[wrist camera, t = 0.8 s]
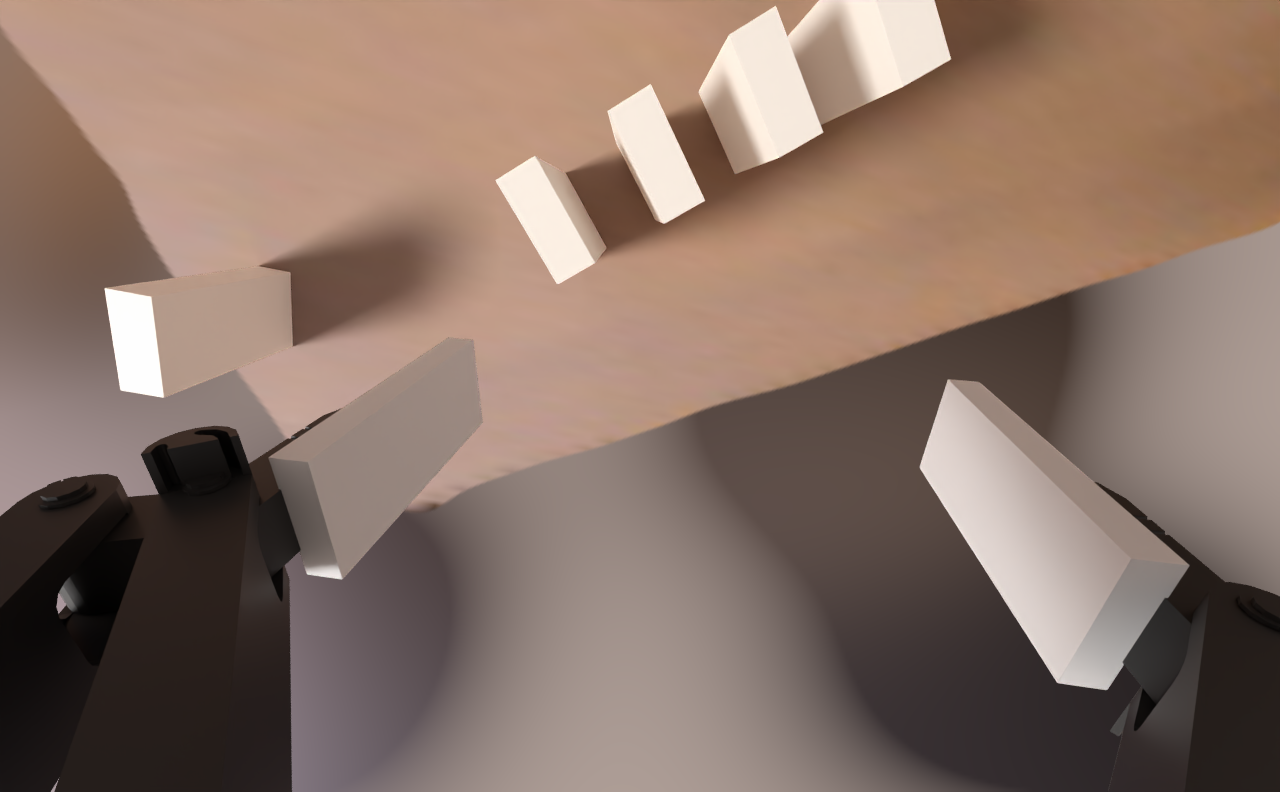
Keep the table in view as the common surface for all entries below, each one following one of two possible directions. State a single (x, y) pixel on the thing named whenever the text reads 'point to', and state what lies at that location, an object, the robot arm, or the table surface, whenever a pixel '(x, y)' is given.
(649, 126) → the tile
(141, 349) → the tile
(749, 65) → the tile
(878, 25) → the tile
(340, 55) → the table surface
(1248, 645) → the robot arm
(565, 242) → the tile
